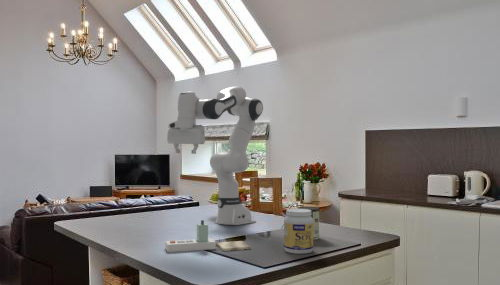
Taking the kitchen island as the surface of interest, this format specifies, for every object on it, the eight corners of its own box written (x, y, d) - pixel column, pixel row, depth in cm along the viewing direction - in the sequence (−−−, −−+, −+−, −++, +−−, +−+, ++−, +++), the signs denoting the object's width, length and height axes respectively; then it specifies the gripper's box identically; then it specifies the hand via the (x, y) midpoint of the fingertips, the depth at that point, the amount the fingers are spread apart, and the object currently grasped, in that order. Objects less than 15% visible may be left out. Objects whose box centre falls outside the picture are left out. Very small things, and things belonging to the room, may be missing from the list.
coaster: (242, 243, 204) (242, 240, 204) (250, 249, 193) (250, 246, 193) (216, 244, 200) (216, 242, 200) (223, 251, 189) (223, 248, 189)
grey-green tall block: (205, 246, 197) (206, 219, 197) (207, 248, 193) (208, 221, 193) (196, 247, 196) (196, 219, 196) (198, 249, 192) (198, 221, 192)
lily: (280, 234, 230) (289, 218, 228) (269, 221, 240) (278, 206, 238) (297, 238, 237) (306, 223, 235) (285, 226, 246) (294, 211, 245)
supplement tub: (292, 255, 182) (292, 213, 182) (278, 249, 193) (278, 208, 193) (319, 253, 187) (319, 211, 187) (303, 246, 198) (304, 207, 198)
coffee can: (299, 234, 223) (300, 205, 223) (320, 236, 220) (321, 207, 220) (294, 239, 213) (295, 208, 213) (316, 240, 210) (317, 209, 210)
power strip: (211, 245, 199) (211, 237, 199) (215, 248, 192) (215, 240, 192) (165, 248, 193) (165, 239, 193) (167, 252, 186) (167, 243, 186)
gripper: (208, 125, 219) (207, 154, 219) (173, 125, 229) (173, 153, 229) (200, 124, 214) (199, 154, 213) (165, 124, 223) (164, 152, 223)
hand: (185, 153), depth 221 cm, fingers open, 8 cm apart
